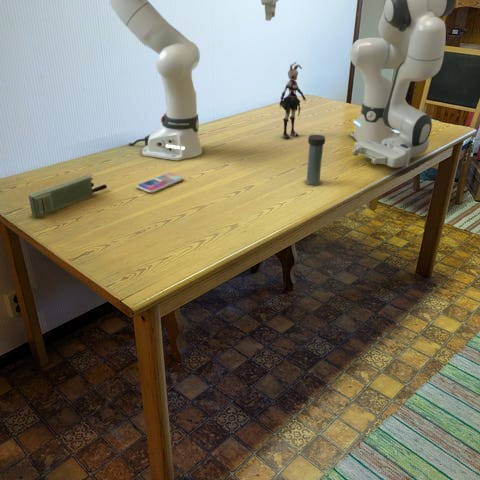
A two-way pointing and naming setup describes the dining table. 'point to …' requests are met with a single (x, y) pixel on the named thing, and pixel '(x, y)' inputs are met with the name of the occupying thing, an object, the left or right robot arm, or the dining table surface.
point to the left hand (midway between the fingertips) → (270, 18)
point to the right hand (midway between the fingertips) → (362, 156)
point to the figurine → (291, 99)
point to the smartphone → (159, 182)
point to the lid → (316, 140)
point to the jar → (314, 164)
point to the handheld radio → (62, 195)
